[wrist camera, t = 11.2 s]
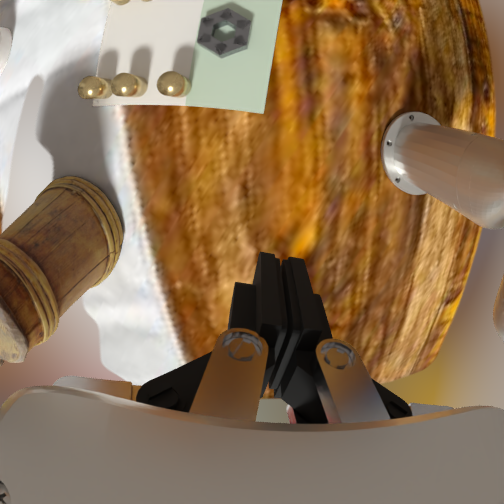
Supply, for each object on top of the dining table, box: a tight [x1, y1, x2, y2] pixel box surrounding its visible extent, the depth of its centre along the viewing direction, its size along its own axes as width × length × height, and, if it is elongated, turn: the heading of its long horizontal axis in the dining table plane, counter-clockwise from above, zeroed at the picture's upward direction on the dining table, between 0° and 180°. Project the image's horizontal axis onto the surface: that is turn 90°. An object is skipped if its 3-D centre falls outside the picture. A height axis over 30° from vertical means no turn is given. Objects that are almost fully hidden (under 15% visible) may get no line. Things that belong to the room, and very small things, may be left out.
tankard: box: [0, 176, 123, 366], centre depth 30 cm, size 18×24×25 cm
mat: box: [92, 0, 283, 114], centre depth 27 cm, size 24×20×1 cm
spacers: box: [78, 0, 192, 99], centre depth 24 cm, size 14×18×5 cm
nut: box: [197, 8, 251, 59], centre depth 26 cm, size 6×7×2 cm
